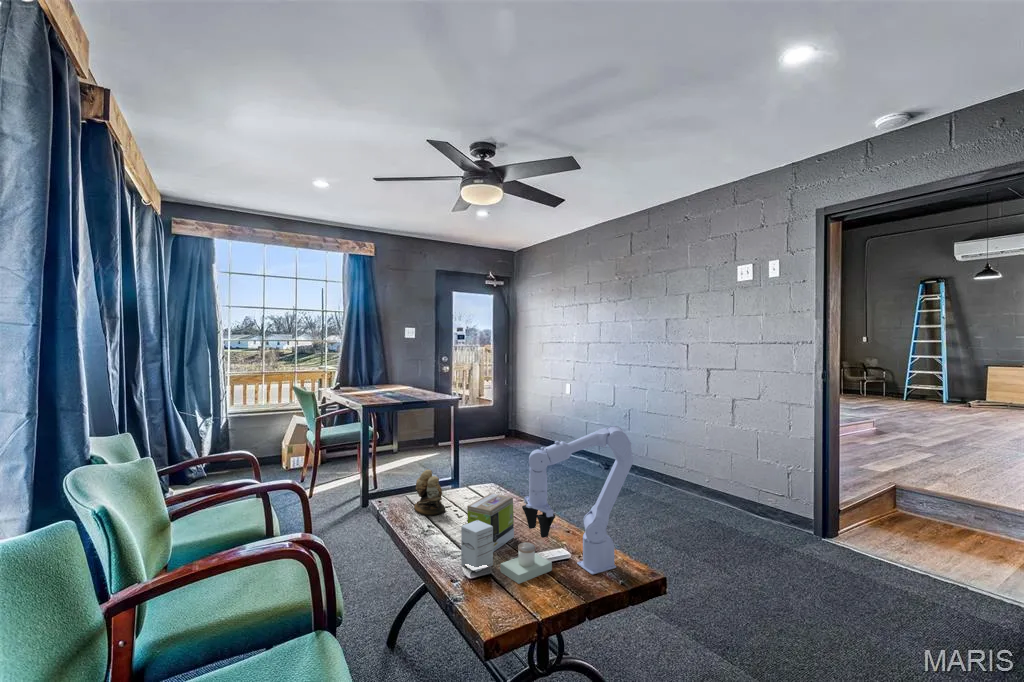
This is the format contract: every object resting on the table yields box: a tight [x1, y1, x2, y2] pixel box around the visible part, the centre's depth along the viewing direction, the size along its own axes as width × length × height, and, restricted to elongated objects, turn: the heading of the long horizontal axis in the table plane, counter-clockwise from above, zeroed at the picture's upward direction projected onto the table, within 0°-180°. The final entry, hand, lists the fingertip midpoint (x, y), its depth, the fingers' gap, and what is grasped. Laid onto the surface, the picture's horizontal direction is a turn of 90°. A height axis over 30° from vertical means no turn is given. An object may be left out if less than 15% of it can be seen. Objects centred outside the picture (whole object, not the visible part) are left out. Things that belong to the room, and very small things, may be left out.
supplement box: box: [460, 520, 494, 567], centre depth 149 cm, size 7×7×13 cm
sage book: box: [499, 552, 553, 585], centre depth 145 cm, size 13×9×3 cm
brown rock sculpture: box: [413, 469, 446, 517], centre depth 198 cm, size 18×12×17 cm, turn 34°
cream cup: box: [517, 541, 536, 567], centre depth 145 cm, size 5×5×5 cm
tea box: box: [466, 493, 515, 553], centre depth 165 cm, size 15×10×15 cm, turn 149°
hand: (538, 532), depth 149 cm, fingers open, 7 cm apart
